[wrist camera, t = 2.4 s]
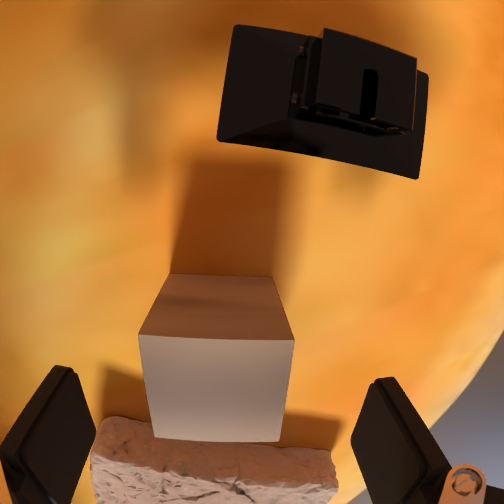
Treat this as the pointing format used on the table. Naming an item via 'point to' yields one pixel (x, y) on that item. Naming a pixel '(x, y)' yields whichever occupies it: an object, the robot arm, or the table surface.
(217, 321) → the brown wooden block
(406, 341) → the table surface
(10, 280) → the table surface
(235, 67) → the black piece
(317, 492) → the brick
